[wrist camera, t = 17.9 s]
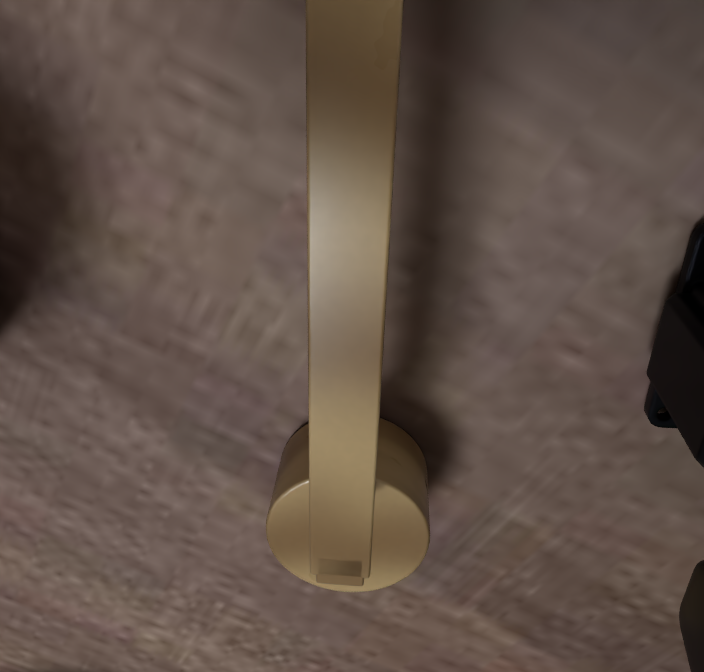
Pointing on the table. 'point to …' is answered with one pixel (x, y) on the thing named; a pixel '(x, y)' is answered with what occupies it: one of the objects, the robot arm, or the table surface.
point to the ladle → (349, 321)
